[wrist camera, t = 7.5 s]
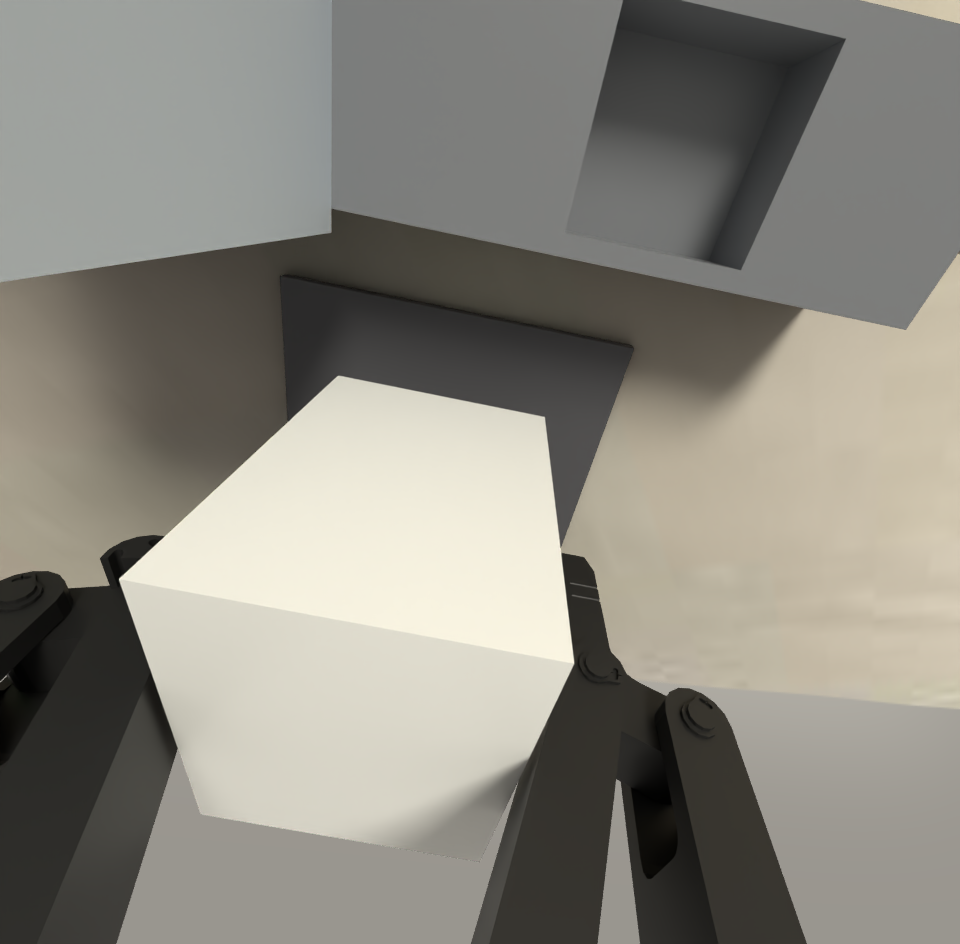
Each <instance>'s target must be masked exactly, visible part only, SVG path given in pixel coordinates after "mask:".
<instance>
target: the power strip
mask: <svg viewBox="0 0 960 944" xmlns="http://www.w3.org/2000/svg"><path fill="white" fill-rule="evenodd" d="M331 209H336V210H340V211H345V212H350V213H355V214H359V215H364V216H369V217H373V218H378V219H383V220H388V221H392V222H397V223H402V224H407V225H411V226H416V227H421V228H426V229H430V230H435V231H440V232H445V233H449V234H454V235H459V236H464V237H468V238H473V239H478V240H482V241H487V242H492V243H497V244H501V245H506V246H511V247H516V248H520V249H525V250H530V251H535V252H539V253H544V254H549V255H554V256H558V257H563V258H568V259H572V260H577V261H582V262H587V263H591V264H596V265H601V266H606V267H610V268H615V269H620V270H625V271H629V272H634V273H639V274H644V275H648V276H653V277H658V278H663V279H667V280H672V281H677V282H681V283H686V284H691V285H696V286H700V287H705V288H710V289H715V290H719V291H724V292H729V293H734V294H738V295H743V296H748V297H753V298H757V299H762V300H767V301H772V302H776V303H781V304H786V305H790V306H795V307H800V308H805V309H809V310H814V311H819V312H824V313H828V314H833V315H838V316H843V317H847V318H852V319H857V320H862V321H866V322H871V323H876V324H880V325H885V326H890V327H895V328H899V329H904V330H906V329H907V327H908V326H909V324H910V323H911V321H912V320H913V319H914V317H915V316H916V314H917V313H918V311H919V310H920V308H921V307H922V305H923V304H924V302H925V301H926V299H927V298H928V296H929V295H930V294H931V292H932V291H933V289H934V288H935V286H936V285H937V283H938V282H939V280H940V279H941V277H942V276H943V274H944V273H945V272H946V270H947V269H948V267H949V266H950V264H951V263H952V261H953V260H954V258H955V257H956V255H957V254H960V24H958V23H954V22H950V21H945V20H941V19H937V18H933V17H928V16H924V15H920V14H916V13H912V12H907V11H903V10H899V9H895V8H890V7H886V6H882V5H878V4H873V3H869V2H865V1H861V0H332V167H331Z"/></svg>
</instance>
